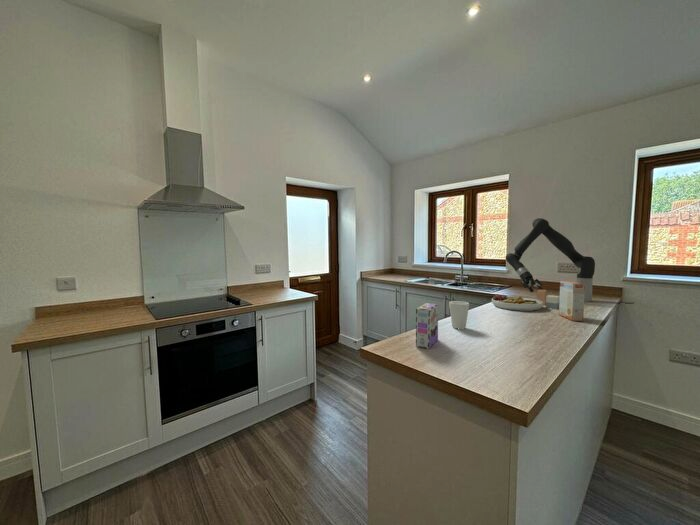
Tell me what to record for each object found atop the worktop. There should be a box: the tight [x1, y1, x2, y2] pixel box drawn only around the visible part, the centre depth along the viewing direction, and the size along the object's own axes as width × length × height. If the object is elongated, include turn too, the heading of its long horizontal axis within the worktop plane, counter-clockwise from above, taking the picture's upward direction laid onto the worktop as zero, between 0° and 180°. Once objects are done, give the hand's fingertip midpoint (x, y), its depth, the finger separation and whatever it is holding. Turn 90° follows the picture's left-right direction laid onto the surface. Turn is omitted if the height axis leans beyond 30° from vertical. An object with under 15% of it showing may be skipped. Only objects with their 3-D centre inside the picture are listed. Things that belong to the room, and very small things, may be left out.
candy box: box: [415, 302, 439, 350], centre depth 124 cm, size 14×6×16 cm, turn 148°
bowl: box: [491, 293, 544, 312], centre depth 195 cm, size 30×30×8 cm
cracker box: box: [558, 280, 585, 322], centre depth 163 cm, size 14×6×21 cm, turn 168°
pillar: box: [536, 289, 548, 306], centre depth 203 cm, size 4×4×10 cm
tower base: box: [545, 302, 560, 310], centre depth 191 cm, size 6×6×4 cm
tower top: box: [546, 294, 560, 303], centre depth 191 cm, size 6×6×4 cm
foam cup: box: [448, 300, 470, 330], centre depth 147 cm, size 10×9×13 cm
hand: (537, 291), depth 207 cm, fingers open, 8 cm apart
